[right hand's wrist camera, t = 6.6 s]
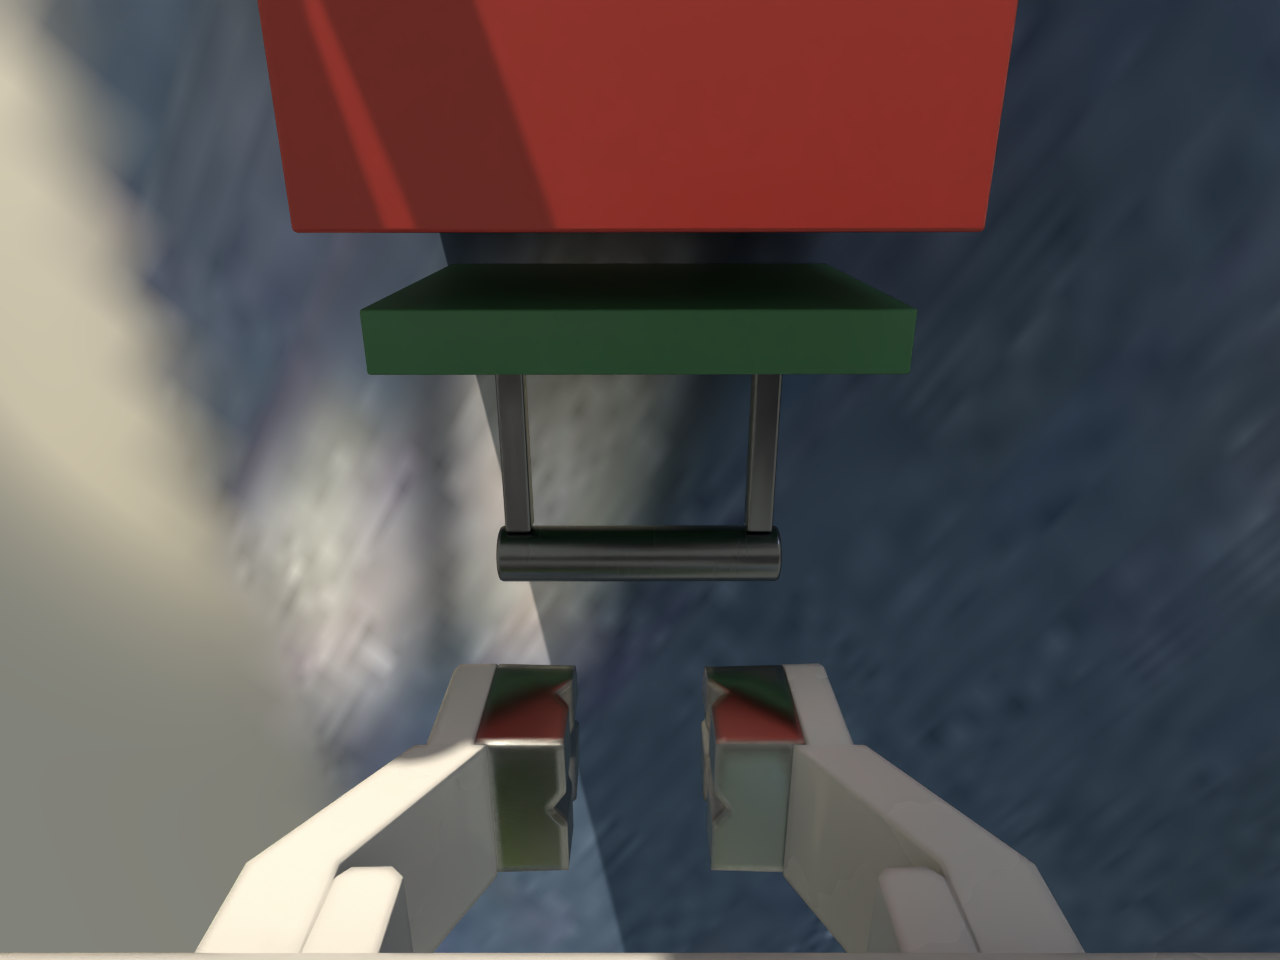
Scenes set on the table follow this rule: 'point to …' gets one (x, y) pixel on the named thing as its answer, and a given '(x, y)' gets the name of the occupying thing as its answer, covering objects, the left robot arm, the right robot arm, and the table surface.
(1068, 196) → the table surface
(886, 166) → the cabinet
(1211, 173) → the table surface
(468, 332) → the drawer
